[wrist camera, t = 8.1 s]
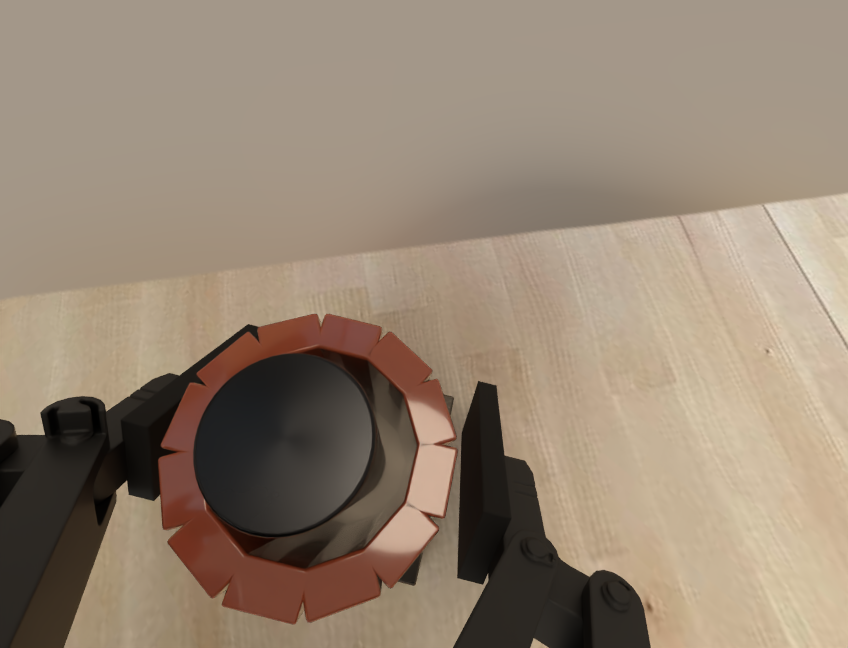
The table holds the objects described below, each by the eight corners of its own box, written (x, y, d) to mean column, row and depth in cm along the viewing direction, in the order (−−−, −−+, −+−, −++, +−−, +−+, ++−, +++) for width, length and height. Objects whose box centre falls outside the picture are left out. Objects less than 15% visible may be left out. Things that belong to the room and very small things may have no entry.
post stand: (239, 533, 18) (-86, 653, 6) (300, 365, 21) (173, 206, 9) (413, 578, 18) (462, 796, 6) (450, 402, 21) (533, 294, 8)
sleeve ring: (246, 526, 17) (98, 575, 8) (301, 371, 19) (231, 288, 11) (404, 566, 16) (419, 657, 8) (439, 406, 19) (477, 349, 11)
